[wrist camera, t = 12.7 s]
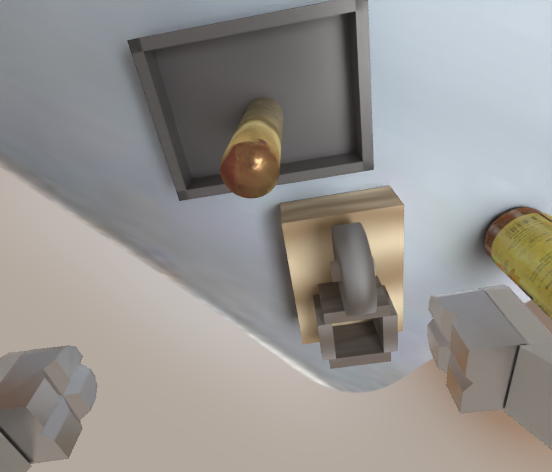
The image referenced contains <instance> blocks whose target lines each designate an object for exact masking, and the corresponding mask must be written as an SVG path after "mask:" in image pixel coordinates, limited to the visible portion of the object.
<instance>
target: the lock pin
mask: <svg viewBox="0 0 552 472" xmlns="http://www.w3.org/2000/svg"><path fill="white" fill-rule="evenodd" d="M283 120H284V115H283V111H282V108H281V106H280V105H279V104H278V103H277V102H276V101H275V100H273V99H271V98H267V97H261V98H257V99H255V100H254V101H252V102H251V103H250V104H249V106H248V108H247V110H246V112H245V114H244V116H243V118H242V119H241V121H240V123H239V125H238V127H237V129H236V131H235V133H234V135H233V137H232V139H231V141H230V143H229V145H228V147H227V149H226V151H225V153H224V155H223V157H222V160H221V163H220V174H221V177H222V180H223V182H224V184H225V185H226V186H227V188H228V189H229V190H230V191H232V192H233V193H234V194H236V195H238V196H241V197H244V198H258V197H261V196H264V195H266V194H267V193H269V192H270V191H271V190H272V189H273V188H274V187H275V185H276V183H277V181H278V178H279V171H280V158H281V145H282V133H283Z"/></svg>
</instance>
